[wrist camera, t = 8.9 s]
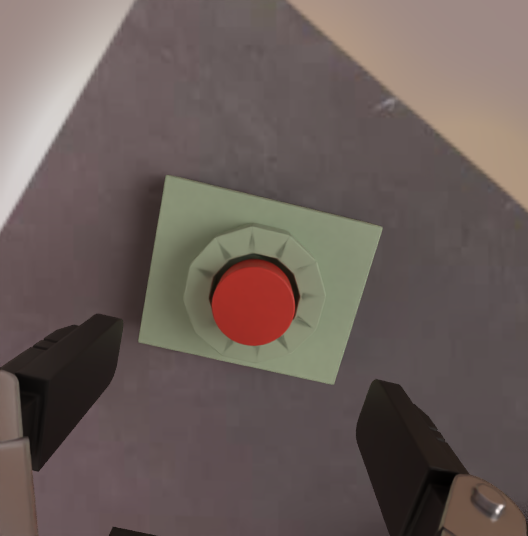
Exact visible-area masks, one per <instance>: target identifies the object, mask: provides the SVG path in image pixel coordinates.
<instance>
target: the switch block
mask: <svg viewBox="0 0 528 536" xmlns="http://www.w3.org/2000/svg"><path fill="white" fill-rule="evenodd" d="M381 232H382V227H381V226H378V225H375V224H372V223H368V222H364V221H360V220H356V219H352V218H347V217H343V216H339V215H335V214H331V213H327V212H323V211H318V210H314V209H310V208H306V207H302V206H298V205H294V204H289V203H285V202H281V201H277V200H273V199H269V198H265V197H260V196H256V195H252V194H248V193H244V192H240V191H236V190H231V189H227V188H223V187H219V186H215V185H211V184H207V183H202V182H198V181H194V180H190V179H186V178H182V177H177V176H170V175H166V177H165V183H164V189H163V195H162V201H161V207H160V213H159V219H158V225H157V231H156V237H155V243H154V249H153V255H152V261H151V267H150V273H149V279H148V285H147V291H146V297H145V303H144V309H143V315H142V320H141V326H140V332H139V338H138V342H139V343H144V344H148V345H153V346H157V347H162V348H167V349H171V350H176V351H180V352H185V353H189V354H194V355H199V356H203V357H208V358H212V359H217V360H222V361H226V362H231V363H235V364H240V365H245V366H249V367H254V368H258V369H263V370H267V371H272V372H277V373H281V374H286V375H290V376H295V377H300V378H304V379H309V380H313V381H318V382H323V383H327V384H332V385H333V384H334V382H335V379H336V376H337V373H338V370H339V366H340V363H341V360H342V357H343V354H344V350H345V347H346V344H347V341H348V338H349V334H350V331H351V328H352V325H353V322H354V318H355V315H356V312H357V309H358V306H359V302H360V299H361V296H362V293H363V290H364V286H365V283H366V280H367V277H368V274H369V270H370V267H371V264H372V261H373V258H374V255H375V251H376V248H377V245H378V242H379V239H380V235H381ZM248 259H260V260H265V261H268V262H270V263H273V264H274V265H276V266H277V267H279V268H280V269H281V270H282V271H283V272H284V273H285V275H286V276H287V278H288V280H289V282H290V284H291V288H292V291H293V295H294V300H295V313H294V317H293V320H292V322H291V324H290V326H289V328H288V329H287V331H286V332H285V333H284V334H283V335H282V336H280V337H279V338H278V339H276V340H274V341H272V342H270V343H268V344H264V345H259V346H248V345H243V344H240V343H237V342H235V341H233V340H231V339H230V338H228V337H227V336H226V335H225V334H224V333H222V331H221V330H220V329H219V328H218V326H217V324H216V322H215V320H214V318H213V314H212V297H213V294H214V291H215V289H216V287H217V285H218V283H219V281H220V279H221V277H222V276H223V274H224V273H225V272H226V271H227V270H228V269H229V268H230V267H231V266H233V265H234V264H236V263H238V262H241V261H243V260H248Z"/></svg>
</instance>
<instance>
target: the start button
mask: <svg viewBox="0 0 528 536" xmlns="http://www.w3.org/2000/svg"><path fill="white" fill-rule="evenodd" d="M294 313H295V300H294V295H293V291H292V288H291V284H290V282H289V280H288V278H287V276H286V275H285V273H284V272H283V271H282V270H281V269H280V268H279V267H277V266H276V265H274V264H273V263H270V262H268V261H265V260H260V259H248V260H243V261H241V262H238V263H236V264H234V265H233V266H231V267H230V268H229V269H228V270H227V271H226V272H225V273H224V274H223V276H222V277H221V279H220V281H219V283H218V285H217V287H216V289H215V291H214V294H213V297H212V314H213V318H214V320H215V322H216V324H217V326H218V328H219V329H220V330H221V331H222V333H224V334H225V335H226V336H227V337H228V338H230V339H231V340H233V341H235V342H237V343H240V344H243V345H248V346H259V345H264V344H268V343H270V342H272V341H274V340H276V339H278V338H279V337H280V336H282V335H283V334H284V333H285V332H286V331H287V329H288V328H289V326H290V324H291V322H292V320H293V317H294Z"/></svg>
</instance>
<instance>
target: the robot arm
mask: <svg viewBox="0 0 528 536" xmlns="http://www.w3.org/2000/svg"><path fill="white" fill-rule="evenodd" d="M122 331H123V320H122V319H119V318H115V317H111V316H106V315H102V314H95V315H94V316H92V317H91V318H90V319H88V320H87V321H85V322H84V323H83V324H81V325H80V326H78V325H71V326H68V327H65V328H61V329H58V330H56V331H54V332H53V333H51V334H50V335H48V336H47V337H45V338H44V340H41V341H39V342H38V343H36V344H35V345H34V346H33V348H32V347H30V348H29V349H27V350H26V351H24V352H23V353H21V354H20V355H18V356H17V357H15V358H14V359H12V360H11V361H9V362H8V363H6V364H5V365H3V366H2V367H0V536H38V526H37V516H36V505H35V495H34V485H33V474H32V470H33V471H38V472H39V471H40V469H41V468H42V467H43V466H44V464H45V463H46V462H47V461H48V459H49V458H50V457H51V456H52V455H53V453H54V452H55V451H56V450H57V448H58V447H59V446H60V445H61V443H62V442H63V441H64V440H65V439H66V437H67V436H68V435H69V434H70V432H71V431H72V430H73V429H74V427H75V426H76V425H77V424H78V422H79V421H80V420H81V419H82V418H83V416H84V415H85V414H86V413H87V411H88V410H89V409H90V408H91V406H92V405H93V404H94V403H95V402H96V400H97V399H98V398H99V397H100V395H101V394H102V393H103V392H104V390H105V389H106V388H107V387H108V385H109V384H110V382H111V380H112V378H113V376H114V373H115V370H116V367H117V361H118V355H119V349H120V343H121V337H122ZM437 430H438V429H437V428H436V426H435V425H434V423H433V422H432V421H431V419H430V418H429V416H427V415H426V414H425V413H424V412H423V411H422V410H421V409H419V408H418V407H417V406H416V405H415V404H413V403H412V401H411V400H410V398H409V397H408V396H407V394H406V393H405V391H404V390H403V388H402V387H401V386H400V385H399V384H395V383H390V382H386V381H382V380H378V379H375V380H374V381H373V382H372V383H371V385H370V388H369V390H368V393H367V396H366V399H365V402H364V405H363V407H362V410H361V413H360V416H359V419H358V422H357V427H356V440H357V444H358V447H359V449H360V452H361V455H362V458H363V461H364V464H365V466H366V469H367V472H368V475H369V478H370V481H371V483H372V486H373V489H374V492H375V495H376V498H377V500H378V503H379V506H380V509H381V512H382V515H383V518H384V520H385V523H386V526H387V529H388V532H389V535H390V536H528V524H527V523H526V520H525V518H524V515H523V514H522V512H521V510H520V509H519V508H518V506H517V505H516V504H515V503H514V502H513V501H512V500H511V499H510V498H509V497H508V496H507V495H506V494H504V493H503V492H502V491H501V490H499V489H498V488H497V487H495V486H494V485H492V484H490V483H489V482H487V481H485V480H483V479H481V478H479V477H476V476H473V475H470V474H469V473H468V471H467V470H466V469H465V467H464V466H463V464H462V463H461V462H460V460H459V459H458V457H457V456H456V455H455V453H454V452H453V450H452V449H451V447H450V446H449V445H448V443H446V442H445V439H444V438H443V436H442V435H441V433H440V432H438V431H437ZM109 536H156V535H151V534H146V533H141V532H136V531H132V530H127V529H122V528H117V527H113V528H112V530H111V532H110V534H109Z"/></svg>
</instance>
